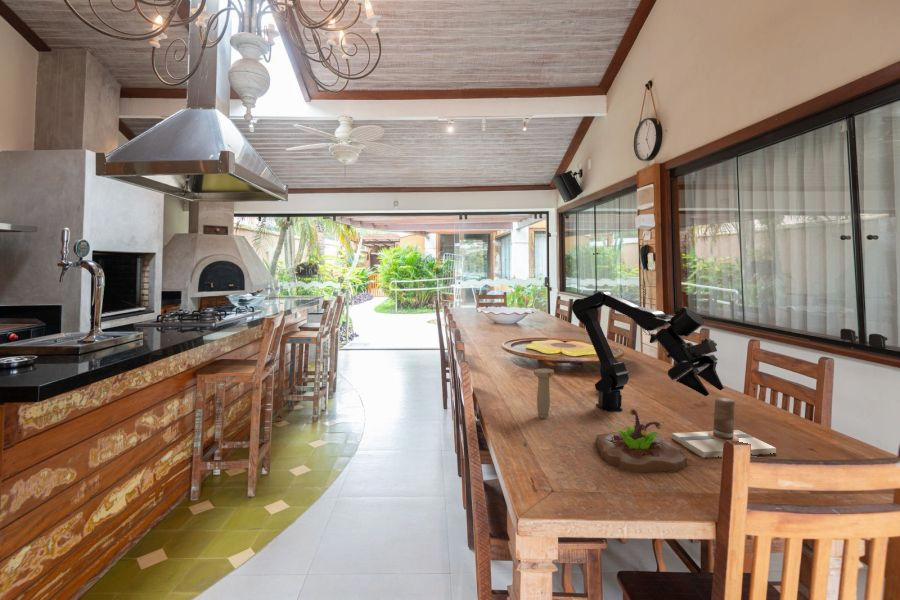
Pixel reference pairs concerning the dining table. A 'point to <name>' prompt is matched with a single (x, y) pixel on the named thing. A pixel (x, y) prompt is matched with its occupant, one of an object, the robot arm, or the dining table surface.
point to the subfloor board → (719, 443)
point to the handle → (543, 391)
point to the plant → (640, 449)
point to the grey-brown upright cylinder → (724, 418)
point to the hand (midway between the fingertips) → (715, 392)
